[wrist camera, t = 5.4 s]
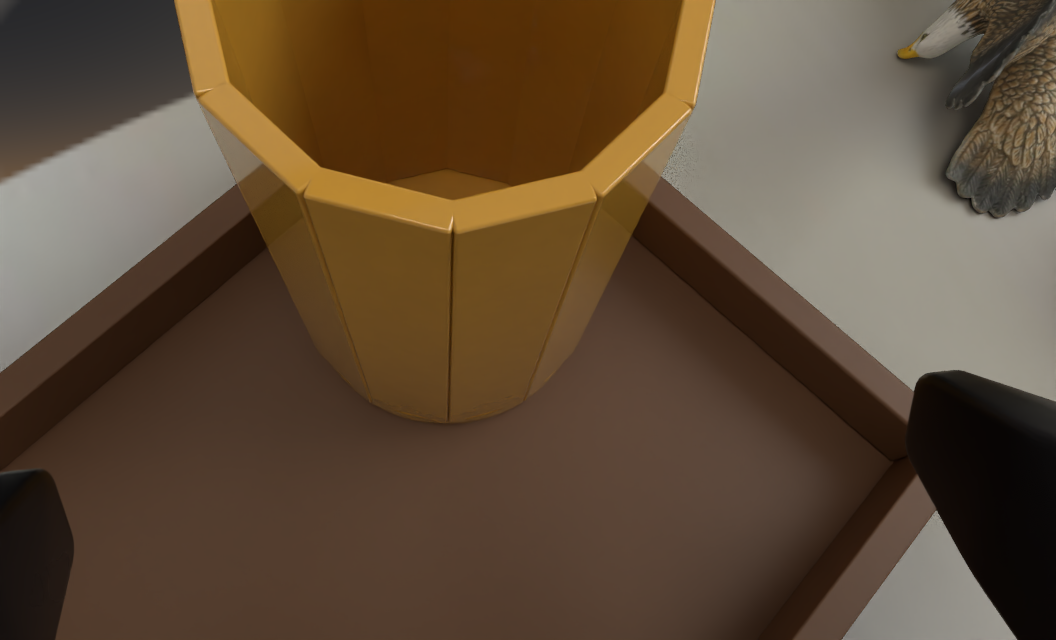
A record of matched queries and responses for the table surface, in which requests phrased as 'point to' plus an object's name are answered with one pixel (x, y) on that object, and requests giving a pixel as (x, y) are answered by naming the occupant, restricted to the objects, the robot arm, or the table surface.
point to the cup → (446, 172)
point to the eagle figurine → (1002, 99)
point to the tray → (467, 462)
